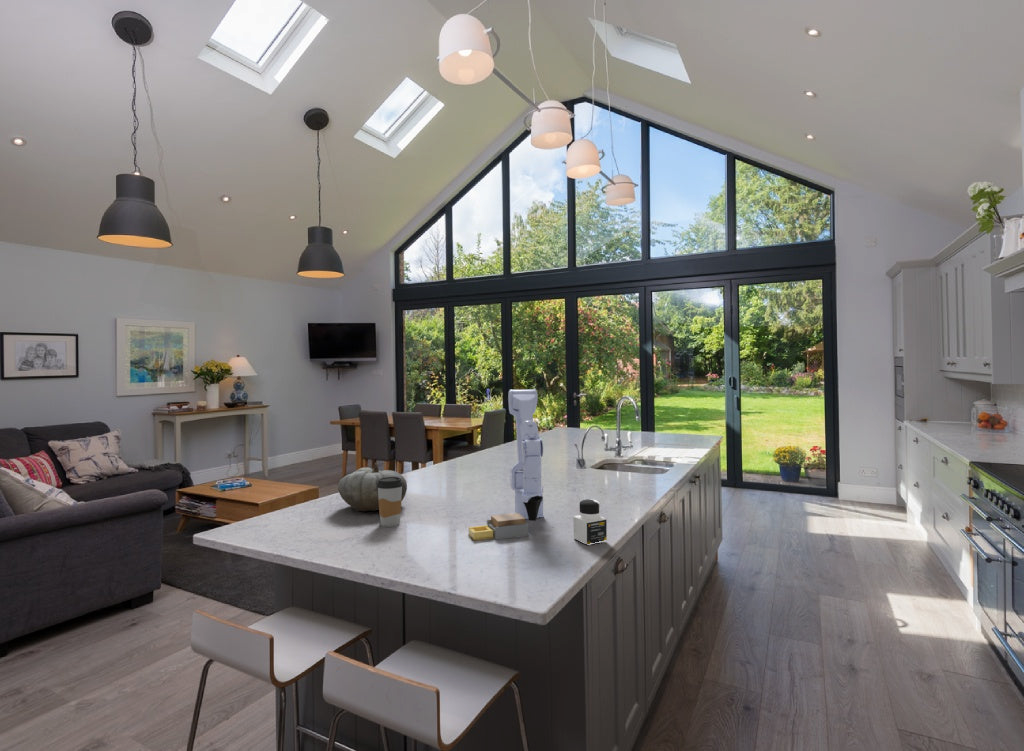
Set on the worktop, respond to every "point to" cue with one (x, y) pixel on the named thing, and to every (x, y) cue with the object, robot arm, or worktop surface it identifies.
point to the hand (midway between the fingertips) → (532, 519)
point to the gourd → (365, 487)
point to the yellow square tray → (480, 532)
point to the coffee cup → (390, 500)
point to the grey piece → (509, 530)
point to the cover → (507, 519)
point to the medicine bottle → (590, 523)
